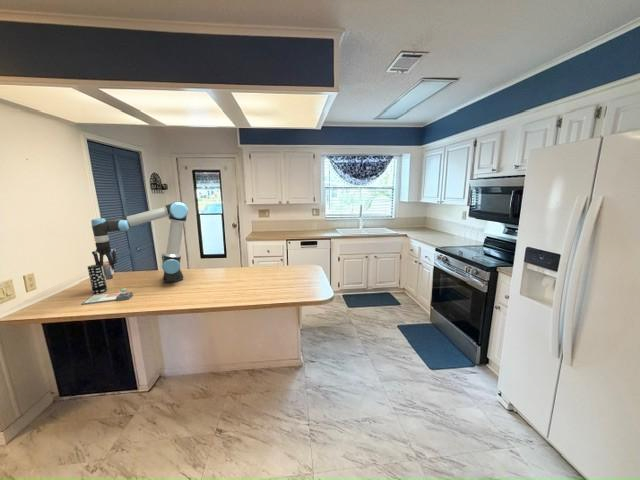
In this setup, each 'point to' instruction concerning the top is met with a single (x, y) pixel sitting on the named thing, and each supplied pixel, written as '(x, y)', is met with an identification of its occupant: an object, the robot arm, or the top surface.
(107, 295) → the picture board
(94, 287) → the spotted tube
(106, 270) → the grey upright cylinder
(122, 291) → the button
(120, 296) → the button housing
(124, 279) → the top surface
